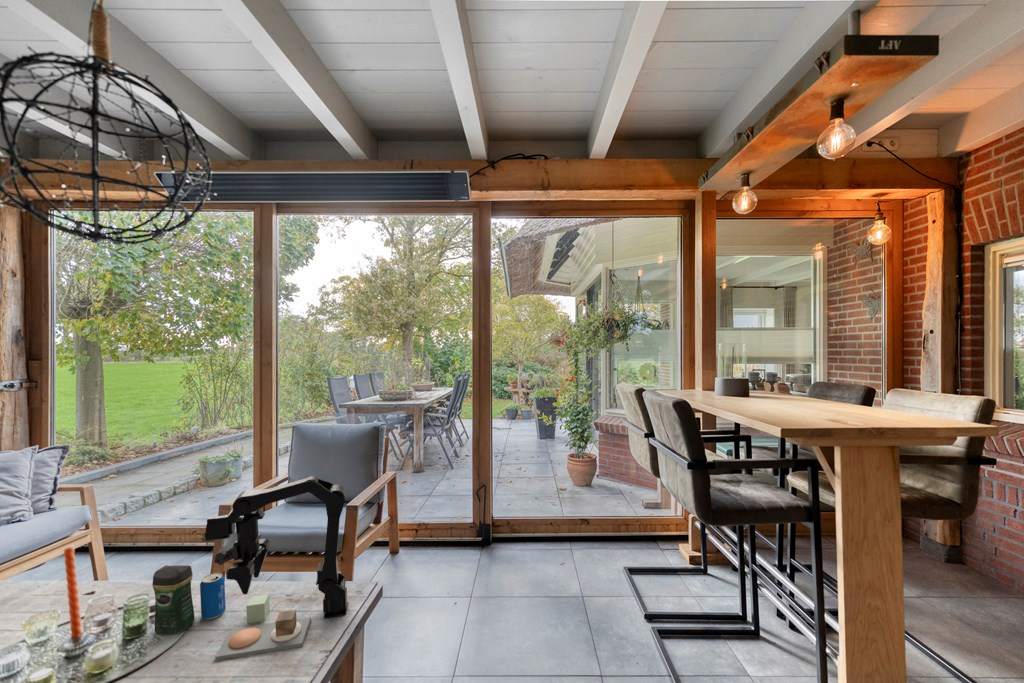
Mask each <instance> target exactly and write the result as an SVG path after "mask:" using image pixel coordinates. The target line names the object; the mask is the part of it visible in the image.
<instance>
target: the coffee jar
mask: <svg viewBox="0 0 1024 683" xmlns="http://www.w3.org/2000/svg"><path fill="white" fill-rule="evenodd" d="M193 576H194V575H193V570H192V566H191V565H187V564H186V565H163V566H162V567H160V568H159V569H157V570H156V571H155V572H154V573H153V576H152V583H151V584H152V589H153V591H154V597H155V599H154V600H155V602H154V606H155V607H154V608H155V610H154V612H155V613H154V632H155V633H156V634H158V635H175V634H179V633H181V632H183V631H185V630H186V629H187V630H188V628H189V627H190V626H191V625H193V623H194V621H195V620H196V619H195V609H194V603H193V596H192V594H193V593H192V580H193Z"/></svg>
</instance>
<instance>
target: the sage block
mask: <svg viewBox="0 0 1024 683" xmlns="http://www.w3.org/2000/svg"><path fill="white" fill-rule="evenodd" d="M270 604H271V603H270V594H269V593H268V594H261V595H260V594H259V595H254V596H251V597H250V599H249V601H248V602H247V604H246V624H251V623H256V622H257V623H258V622H259V623H260V622H265V621H266V620H267V617H268V615H269V613H270V611H271V610H270V608H271V606H270Z"/></svg>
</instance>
